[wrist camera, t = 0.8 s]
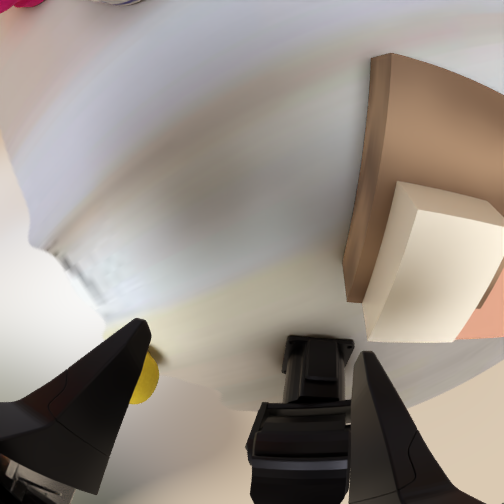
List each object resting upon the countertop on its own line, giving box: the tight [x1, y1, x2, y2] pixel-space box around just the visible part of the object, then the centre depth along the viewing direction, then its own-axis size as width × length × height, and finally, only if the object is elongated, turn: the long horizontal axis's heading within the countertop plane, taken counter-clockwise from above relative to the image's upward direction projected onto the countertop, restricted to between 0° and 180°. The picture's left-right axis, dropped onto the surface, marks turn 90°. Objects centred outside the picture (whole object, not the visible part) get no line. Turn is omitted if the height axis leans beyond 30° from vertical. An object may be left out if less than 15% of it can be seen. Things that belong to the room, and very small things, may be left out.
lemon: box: [129, 351, 159, 404], centre depth 29 cm, size 6×6×8 cm
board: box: [342, 53, 504, 309], centre depth 13 cm, size 14×11×4 cm
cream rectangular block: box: [362, 181, 504, 343], centre depth 12 cm, size 8×6×3 cm
